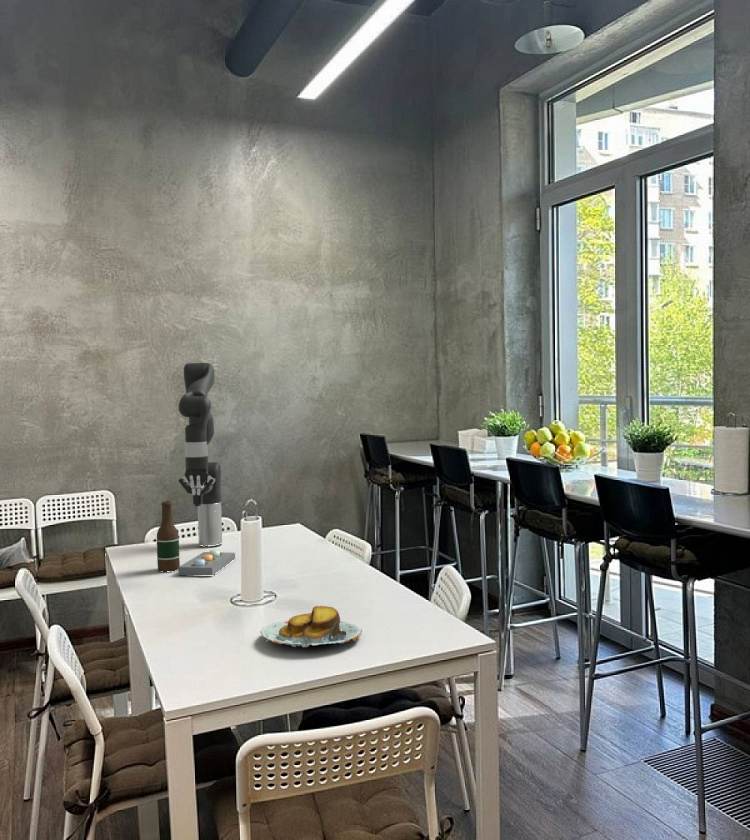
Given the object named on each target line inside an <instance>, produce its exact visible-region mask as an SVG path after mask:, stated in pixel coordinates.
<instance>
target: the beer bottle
mask: <svg viewBox="0 0 750 840" xmlns="http://www.w3.org/2000/svg"><path fill="white" fill-rule="evenodd" d="M160 506H161V521H160V522H161V523H160V526H159V528H158V529H157V531H156V556H157V557H156V561H157V564H156V565H157V570H158V572H159V571H163V572H162V573H165V572H166V573H168V572H167V571H174V572H176V571H175V570H177V569H178V567H179V566H181V565H180V563H181V561H180V559H181V558H180V537H179V531H178V529H177V528H176V526H175V525H174V519H173V509H172V506H173V503H172V501H170V500H165V501H162V502H161V503H160ZM177 571H178V570H177Z"/></svg>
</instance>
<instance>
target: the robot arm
mask: <svg viewBox="0 0 750 840" xmlns="http://www.w3.org/2000/svg"><path fill="white" fill-rule="evenodd" d="M183 380H184V385H185V386H184V387H185V393H184V395H183V396H182V397H180V400H179V402H178V412H179V414H180V416H182V417H185V418H188V424H187V425H186V426H185V429H184V433H185V434H184V435H185V436H184V438H185V442H184V443H185V445H184V459H185V461H184V463H185V464H184V465H185V472H184V475H183V476H182V478H179V479H178V482H179V484H180V485H181V486H182V488H184V489H183V490H185V491H186V493H187V494H190V495H192V501H193V502H192V503H193V505H194V506H195V507H197V528H198V529H197V533H198V546H199V545H203V546H206V545H207V546H208V545H216V544H220V543H222V544H223V525H222V524H223V523H222V521H223V520H222V519H223V518H222V516H223V515H222V495H221V494H222V493H221V492H222V489H221V486H222V483H221V481H222V468H221V465H220V463H219V462H217V461H214V462H213V461H212V462H210V461H209V456H208V455H209V454H208V452H209V451H208V446H209V444H210V442H211V441H212V438H214V434H215V427H214V426H215V425H214V417H213V415H212V412H211V410H212V408H211V407H212V402H211V400H210V398H209V397H208V394H209V392H210V390H211V389H212V387H213V385H214V383H215V368H214V366H213V365H212V363H210V362H190V363H188V362H187V363H185V364H184V367H183Z"/></svg>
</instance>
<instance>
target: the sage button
mask: <svg viewBox="0 0 750 840" xmlns="http://www.w3.org/2000/svg"><path fill="white" fill-rule="evenodd" d="M209 552H210V554H211V555H213V557H219V556H220V552H221V551H220V550H219V549H211V550H209Z"/></svg>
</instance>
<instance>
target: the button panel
mask: <svg viewBox="0 0 750 840" xmlns="http://www.w3.org/2000/svg"><path fill="white" fill-rule="evenodd" d="M206 554H210V551H203V552H201V553H199V554H198V555H196V556H194V557H193V558H191V559H189V560H188V561H186V562H183V564H181V565H180V566H179V567H178V570H177V571H178V576H179V575H214V574H215V573H216V572H218V571H219V570H221V569H222V568H223V567H225V566H226V565H227V564H229V563H230V562H231V561H232V560H234V559H235V560H236V552H224V551H223V552H221V551H220V556H219V557H213V560H212V561H205V566H194V560H197V559H202V555H206ZM221 571H222V570H221ZM218 573H219V572H218ZM214 576H215V575H214Z"/></svg>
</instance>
